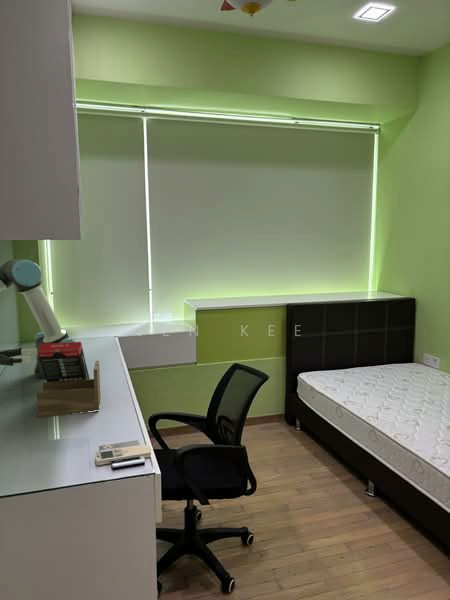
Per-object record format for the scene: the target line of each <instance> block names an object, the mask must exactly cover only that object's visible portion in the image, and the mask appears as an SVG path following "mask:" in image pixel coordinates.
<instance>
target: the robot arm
mask: <svg viewBox="0 0 450 600" xmlns="http://www.w3.org/2000/svg"><path fill="white" fill-rule="evenodd" d="M42 273H43V272H42V270H41V267H40V266H39V265H38V264H37V263H36V262H34V261H32V260H30V259H15V258H14V259H13V258H12V259H9V260H6V261H5V262H3V263H1V265H0V293H1V292H2V291H5V290H8V289H9V288H10V287H11V286H14V287H15V289H16V290H17V293H19V294H21V295H23V296H24V299H25V301H26V303H27V305H28V307H29V308H30V311H31V312H32V315H33V316H34V318H35V320H36V323H37V324H38V326H39V328H40V330H41V332H37V333H35V337H34V342H35V343H34V344H35V348H28V349H27V348H25V349H24V348H22V347H19V348H13V349H6V350H5V349H4V350H0V366H9V367H14V365H18V364H19V365H20V364H31V363H32V357H31V356H36V357H35V358H36V362H35V365H34V369H33V377H34V378H37V379H46V377H45V374H44V371H43V368H42V365H41V361H40V358H39V355H38V351H39V348H40V346H41V344H50V343H69V342H76V341H75V340H74V339H73V338H70V336H69V333H68V332H67V330H66V329H65V328H62V326H61V325H60V323H59V320H58V318H57V316H56V315H55V312H54V310H53V308H52V306H51V304H50V302H49V300H48V299H47V298H48V297H47V296H46V294H45V291H44V290H43V288H42V286H43V280H42V275H43V274H42Z"/></svg>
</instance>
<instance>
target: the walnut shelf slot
mask: <svg viewBox="0 0 450 600" xmlns="http://www.w3.org/2000/svg"><path fill="white" fill-rule="evenodd" d="M94 363H95V364H94V366H93V378H90V379H84V380H69V381H55V382H47V381H44V382H42V391H36V399H37V402H36V403H37V417H38V418H45V417H55V416H58V415H59V416H66V415H65V414H70V415H73V414H72V413H80V412H88V411H94V410H99V411H100V408H99V405H100V406H101V401H100V399H102V398H101V396H102V395H101V376H100V373H101V372H100V360H95V362H94ZM59 416H58V417H59Z"/></svg>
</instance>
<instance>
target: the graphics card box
mask: <svg viewBox="0 0 450 600" xmlns="http://www.w3.org/2000/svg"><path fill="white" fill-rule="evenodd" d="M38 355H39V358H40V361H41V365H42V368H43V371H44V374H45V377H46V378H45V382H55V381H69V380H84V379H91V378H90V375H89V370H88V367H87V363H86V357H85V353H84V349H83V344H82V342H81V341H75V342H69V343H50V344H41V346H40V348H39V351H38Z"/></svg>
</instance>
